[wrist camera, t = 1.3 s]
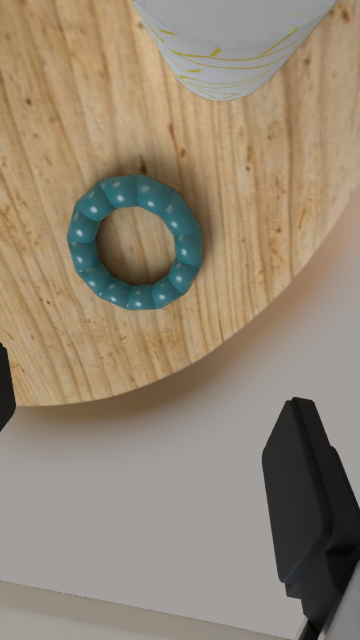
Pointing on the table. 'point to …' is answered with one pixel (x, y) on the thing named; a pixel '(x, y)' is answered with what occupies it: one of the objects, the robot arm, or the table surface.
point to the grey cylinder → (228, 39)
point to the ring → (152, 199)
